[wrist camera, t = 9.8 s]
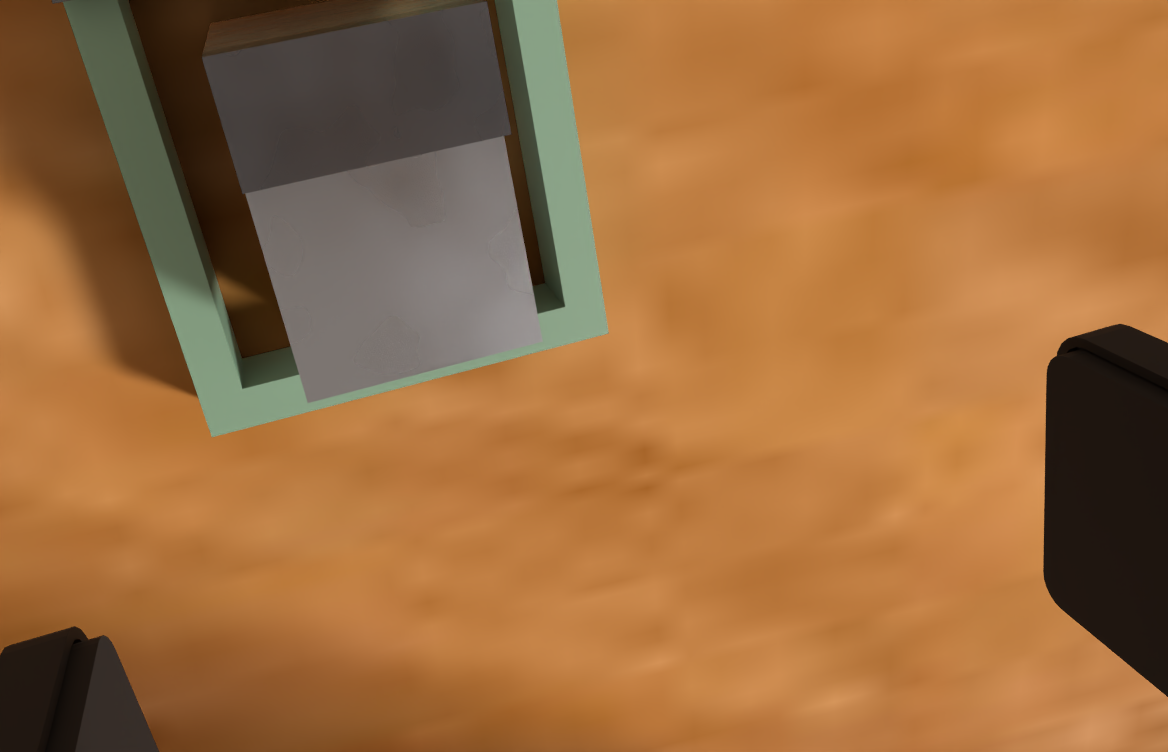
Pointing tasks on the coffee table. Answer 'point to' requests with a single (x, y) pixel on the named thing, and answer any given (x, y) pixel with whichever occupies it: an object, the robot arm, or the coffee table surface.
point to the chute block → (377, 184)
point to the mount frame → (182, 261)
